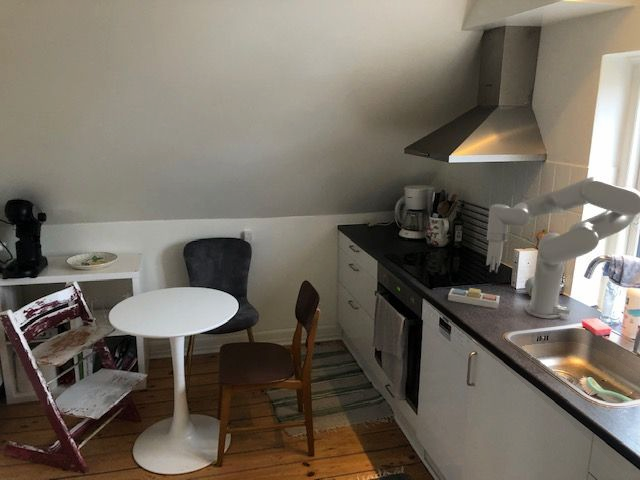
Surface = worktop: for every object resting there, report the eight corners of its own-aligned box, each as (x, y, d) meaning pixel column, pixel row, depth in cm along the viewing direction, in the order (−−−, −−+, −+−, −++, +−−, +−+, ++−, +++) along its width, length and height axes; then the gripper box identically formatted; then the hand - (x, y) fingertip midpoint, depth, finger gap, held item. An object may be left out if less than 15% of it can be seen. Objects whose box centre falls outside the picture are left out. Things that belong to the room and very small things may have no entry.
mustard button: (480, 296, 208) (480, 289, 207) (478, 300, 204) (479, 293, 203) (469, 294, 209) (469, 288, 209) (467, 298, 206) (468, 291, 205)
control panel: (499, 301, 207) (499, 296, 206) (497, 308, 200) (498, 302, 199) (451, 293, 214) (451, 288, 214) (447, 300, 207) (448, 294, 206)
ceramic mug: (528, 299, 210) (531, 282, 208) (523, 292, 218) (526, 275, 216) (555, 301, 209) (558, 284, 207) (549, 294, 217) (552, 277, 215)
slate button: (464, 297, 210) (465, 290, 210) (463, 300, 206) (463, 293, 206) (453, 295, 212) (454, 288, 211) (452, 298, 208) (452, 291, 207)
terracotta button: (495, 302, 206) (495, 295, 205) (494, 305, 202) (494, 298, 201) (483, 300, 208) (484, 293, 207) (482, 303, 204) (483, 296, 203)
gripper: (489, 231, 206) (484, 274, 210) (484, 239, 192) (480, 285, 197) (508, 233, 203) (504, 276, 207) (505, 241, 189) (501, 288, 194)
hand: (492, 280), depth 202 cm, fingers closed
